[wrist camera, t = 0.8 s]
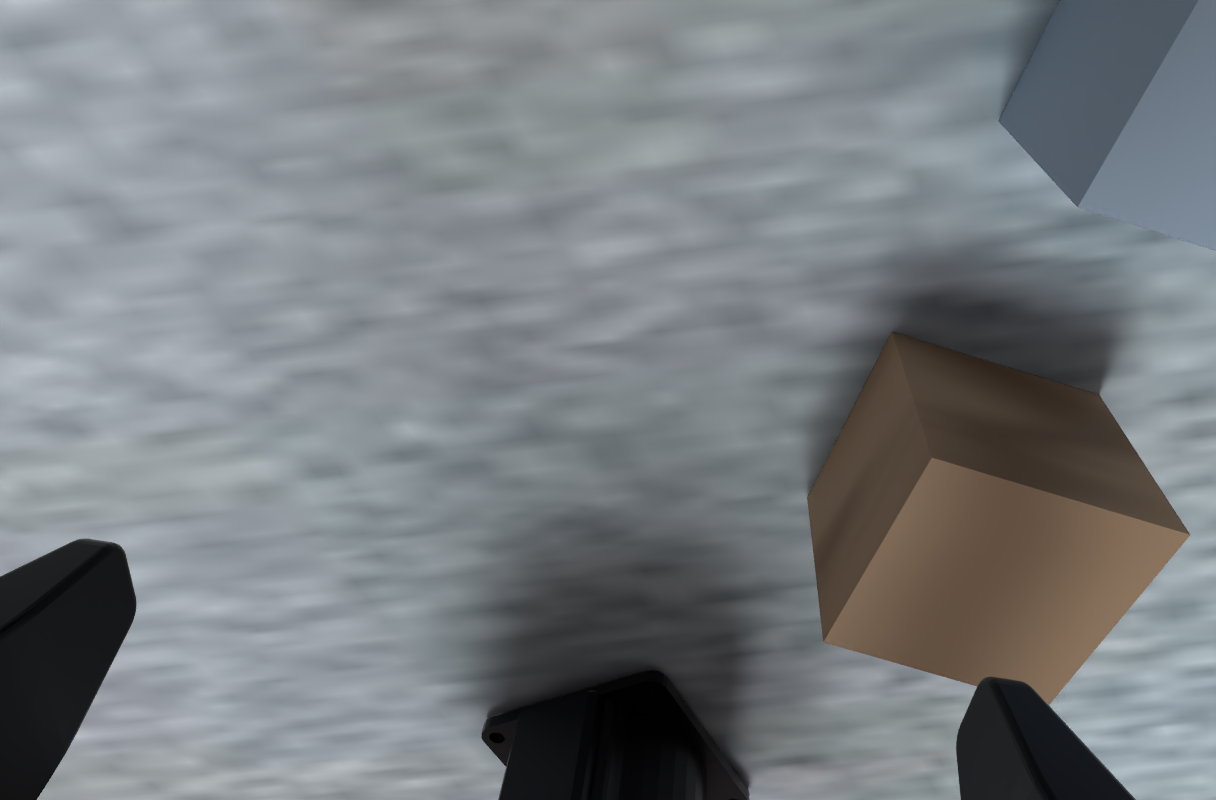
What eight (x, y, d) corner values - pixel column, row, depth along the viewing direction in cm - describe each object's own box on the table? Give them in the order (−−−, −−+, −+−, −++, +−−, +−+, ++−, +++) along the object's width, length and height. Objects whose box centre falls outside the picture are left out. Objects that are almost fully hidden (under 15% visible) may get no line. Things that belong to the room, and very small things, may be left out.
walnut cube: (1098, 392, 21) (1190, 534, 17) (991, 550, 24) (1047, 706, 19) (891, 330, 21) (931, 457, 16) (806, 495, 23) (823, 642, 19)
